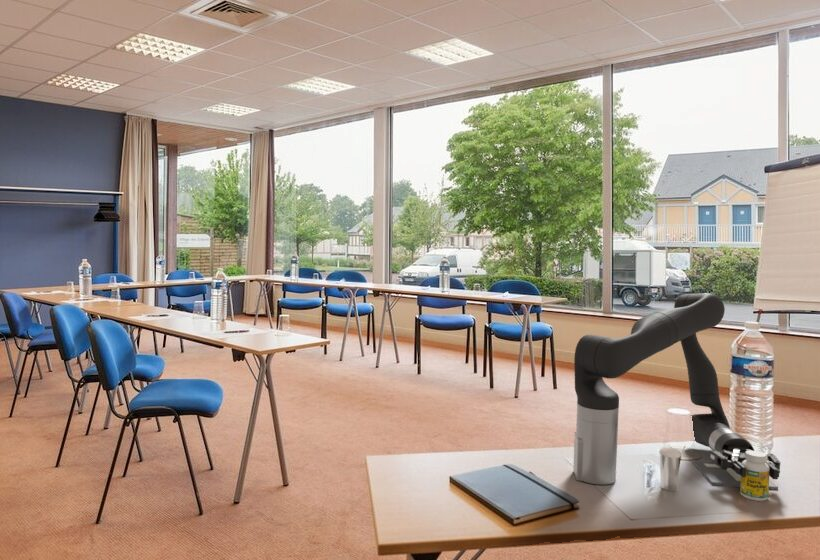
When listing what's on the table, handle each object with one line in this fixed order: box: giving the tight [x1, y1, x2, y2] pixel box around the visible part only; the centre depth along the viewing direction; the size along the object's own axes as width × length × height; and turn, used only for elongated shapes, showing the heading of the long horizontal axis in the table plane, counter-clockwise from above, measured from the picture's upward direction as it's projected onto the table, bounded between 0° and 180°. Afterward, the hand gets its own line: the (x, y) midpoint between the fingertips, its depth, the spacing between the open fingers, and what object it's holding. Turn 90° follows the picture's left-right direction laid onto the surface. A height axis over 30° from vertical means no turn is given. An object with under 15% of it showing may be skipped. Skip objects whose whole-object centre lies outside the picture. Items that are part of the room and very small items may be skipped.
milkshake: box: [658, 445, 686, 492], centre depth 133 cm, size 4×5×10 cm
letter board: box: [692, 459, 779, 491], centre depth 142 cm, size 14×14×1 cm
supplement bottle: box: [739, 450, 770, 502], centre depth 130 cm, size 5×5×10 cm
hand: (760, 473), depth 127 cm, fingers open, 5 cm apart
